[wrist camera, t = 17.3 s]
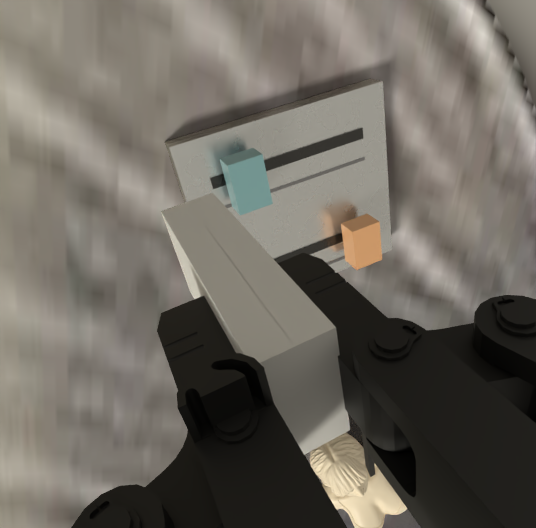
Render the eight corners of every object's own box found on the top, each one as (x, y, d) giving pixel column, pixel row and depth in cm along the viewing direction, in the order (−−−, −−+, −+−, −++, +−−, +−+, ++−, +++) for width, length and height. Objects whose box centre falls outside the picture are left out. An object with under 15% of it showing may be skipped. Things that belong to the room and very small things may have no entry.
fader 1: (229, 203, 40) (240, 215, 37) (216, 156, 37) (227, 165, 35) (260, 192, 40) (272, 203, 38) (249, 145, 38) (262, 154, 36)
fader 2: (341, 257, 47) (356, 270, 45) (336, 220, 45) (352, 232, 43) (365, 247, 48) (382, 259, 46) (362, 210, 46) (379, 221, 43)
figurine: (361, 556, 67) (304, 521, 54) (329, 499, 74) (273, 458, 61) (432, 499, 67) (392, 451, 54) (393, 448, 74) (350, 396, 62)
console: (218, 307, 47) (224, 319, 45) (164, 141, 37) (169, 147, 36) (381, 242, 51) (392, 250, 50) (370, 78, 42) (383, 81, 40)
